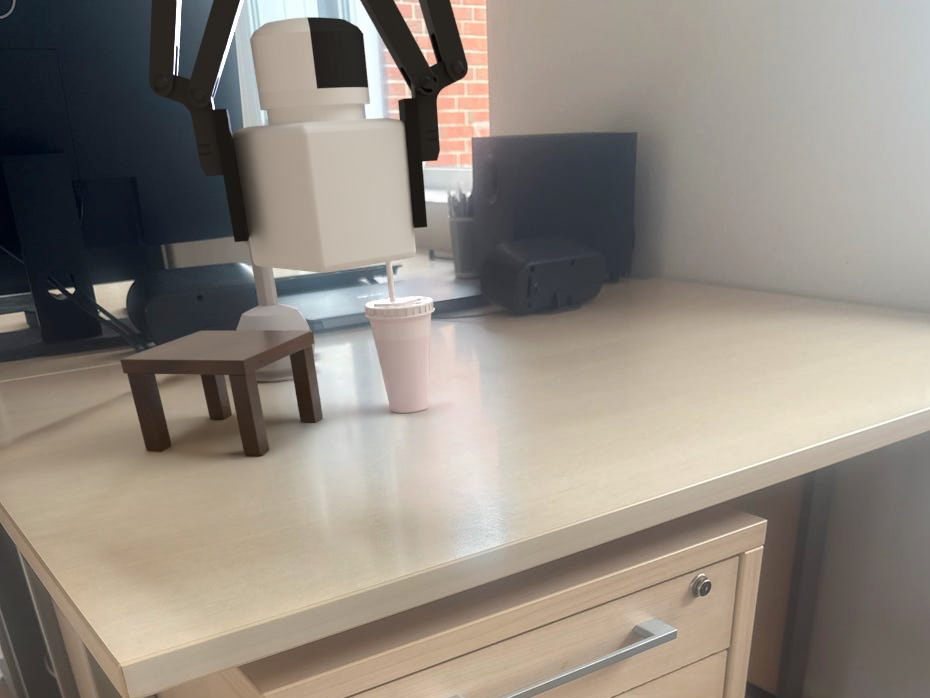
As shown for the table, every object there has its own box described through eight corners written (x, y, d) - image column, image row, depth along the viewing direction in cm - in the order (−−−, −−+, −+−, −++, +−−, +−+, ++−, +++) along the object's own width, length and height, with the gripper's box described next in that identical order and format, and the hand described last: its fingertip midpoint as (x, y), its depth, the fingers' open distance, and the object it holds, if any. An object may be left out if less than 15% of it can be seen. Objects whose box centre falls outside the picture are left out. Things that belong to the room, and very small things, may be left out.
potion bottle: (281, 363, 109) (254, 197, 100) (334, 369, 104) (310, 195, 95) (225, 379, 103) (190, 205, 94) (278, 387, 98) (247, 203, 89)
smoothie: (368, 405, 89) (348, 251, 82) (429, 395, 91) (415, 244, 84) (388, 420, 84) (369, 257, 77) (452, 409, 86) (439, 249, 79)
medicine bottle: (346, 251, 59) (320, 28, 53) (419, 257, 54) (399, 13, 48) (251, 267, 54) (211, 26, 48) (321, 274, 50) (286, 9, 44)
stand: (142, 451, 80) (119, 359, 76) (218, 413, 90) (200, 330, 86) (261, 457, 76) (243, 360, 73) (326, 417, 86) (313, 330, 82)
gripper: (-7, -328, 37) (126, 254, 49) (517, -322, 41) (530, 223, 52) (34, -260, 44) (143, 241, 55) (483, -259, 47) (501, 213, 58)
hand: (331, 232), depth 53 cm, fingers closed on medicine bottle, 10 cm apart
